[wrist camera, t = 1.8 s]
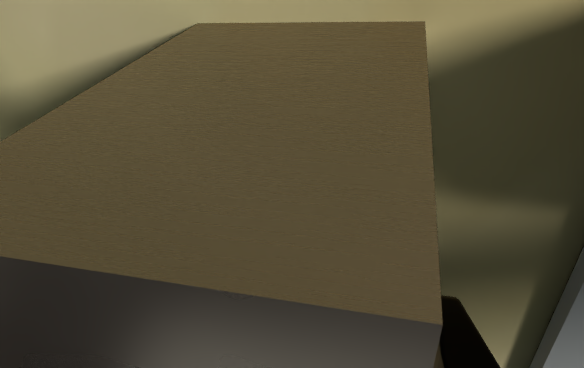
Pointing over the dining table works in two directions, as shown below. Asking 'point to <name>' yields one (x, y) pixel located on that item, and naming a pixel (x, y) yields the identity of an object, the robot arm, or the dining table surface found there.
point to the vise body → (565, 327)
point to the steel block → (230, 207)
